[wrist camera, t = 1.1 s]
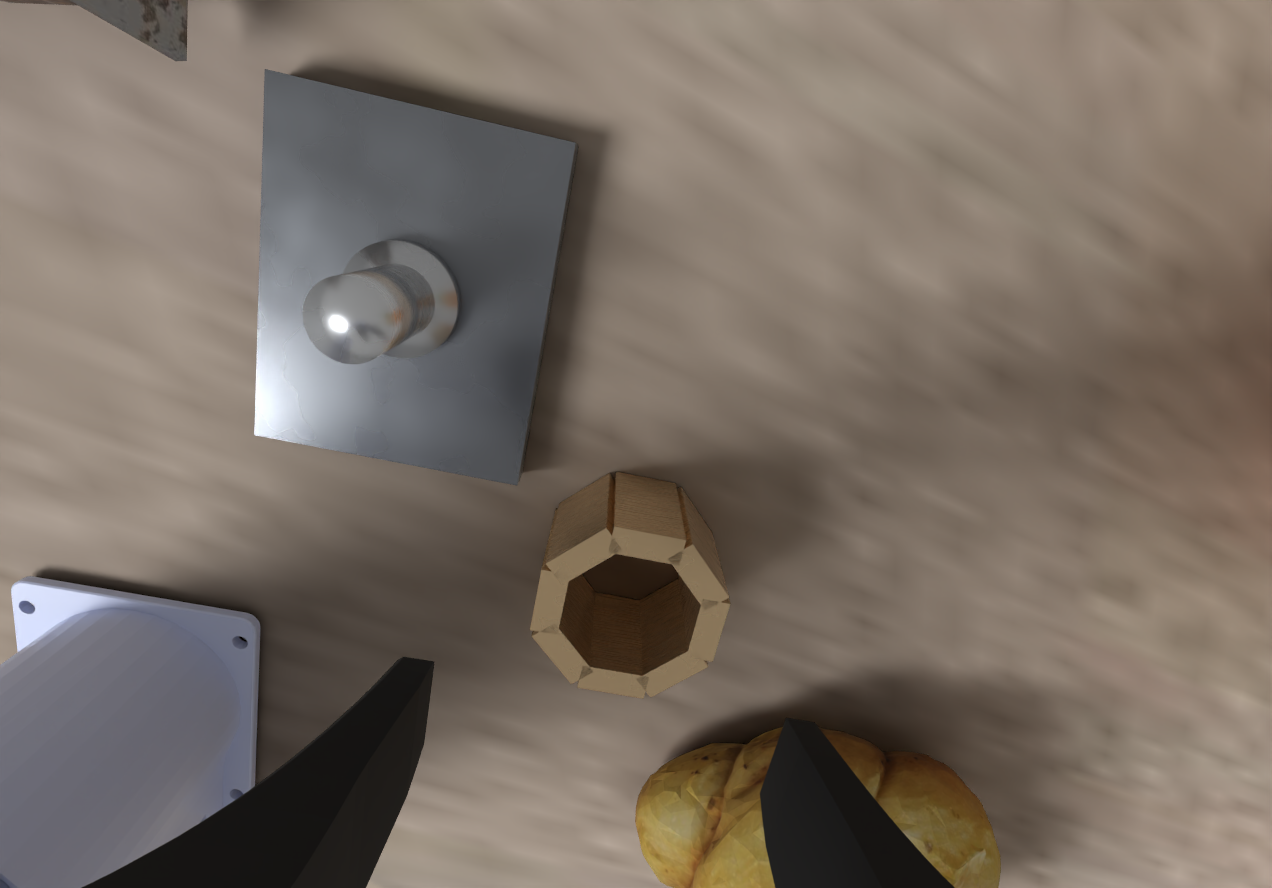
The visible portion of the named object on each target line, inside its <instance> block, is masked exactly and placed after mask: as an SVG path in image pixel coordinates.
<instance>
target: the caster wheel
mask: <svg viewBox="0 0 1272 888" xmlns="http://www.w3.org/2000/svg"><path fill="white" fill-rule="evenodd" d="M0 1H5V2H10V3H33V4H59V5H79V6H81V7H82V8H84V9H86V10H87V11H89V12H91V13H93V14H94V15H96V16H98V17H100V18H101V19H103V20H105V21H107V22H108V23H110V24H112V25H114V26H115V27H117V28H119V29H121V30H122V31H124V32H126V33H128V34H129V35H131V36H133V37H135V38H136V39H138V40H140V41H141V42H143V43H145V44H147V45H148V46H150V47H152V48H154V49H155V50H157V51H159V52H161V53H162V54H164V55H166V56H168V57H169V58H171V59H173V60H175V61H187V8H188V0H0Z"/></svg>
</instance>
